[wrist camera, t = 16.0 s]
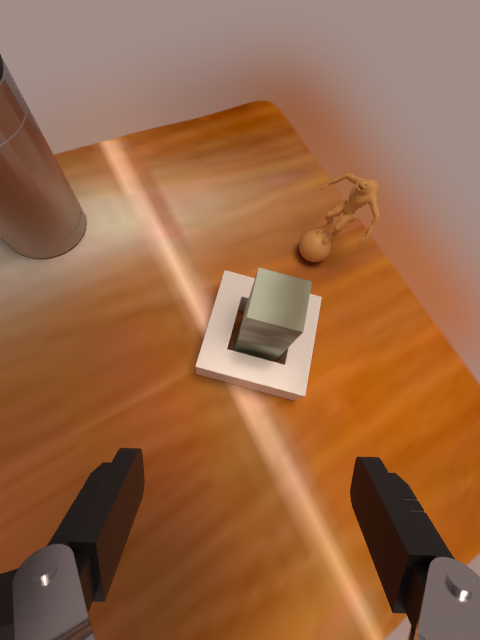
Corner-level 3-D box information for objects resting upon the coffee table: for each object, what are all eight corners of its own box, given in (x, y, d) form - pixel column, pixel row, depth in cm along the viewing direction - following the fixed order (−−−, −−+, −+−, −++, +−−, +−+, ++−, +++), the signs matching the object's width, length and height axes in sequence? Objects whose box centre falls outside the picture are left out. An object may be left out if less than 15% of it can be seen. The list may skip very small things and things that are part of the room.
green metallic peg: (232, 354, 35) (246, 317, 24) (241, 318, 37) (258, 267, 25) (271, 364, 35) (303, 332, 24) (278, 328, 37) (311, 281, 26)
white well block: (196, 374, 34) (195, 366, 30) (222, 286, 38) (224, 270, 34) (293, 400, 34) (305, 396, 30) (309, 310, 38) (321, 297, 34)
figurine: (282, 234, 41) (311, 159, 30) (319, 220, 43) (361, 145, 32) (313, 286, 39) (357, 227, 28) (351, 270, 41) (408, 207, 29)
